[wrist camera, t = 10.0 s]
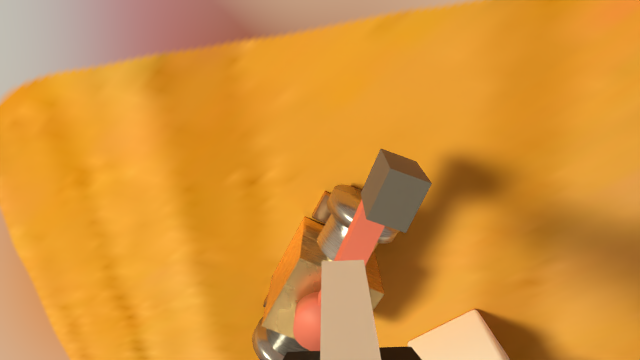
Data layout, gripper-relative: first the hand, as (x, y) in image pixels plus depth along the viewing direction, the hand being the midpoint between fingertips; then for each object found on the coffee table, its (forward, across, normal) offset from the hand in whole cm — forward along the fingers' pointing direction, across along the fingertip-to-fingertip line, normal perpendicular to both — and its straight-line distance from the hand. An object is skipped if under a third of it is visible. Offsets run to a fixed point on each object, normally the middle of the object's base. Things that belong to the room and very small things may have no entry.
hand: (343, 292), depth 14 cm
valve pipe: (+18, -2, -11) cm, 21 cm away
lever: (+12, +1, -5) cm, 13 cm away
